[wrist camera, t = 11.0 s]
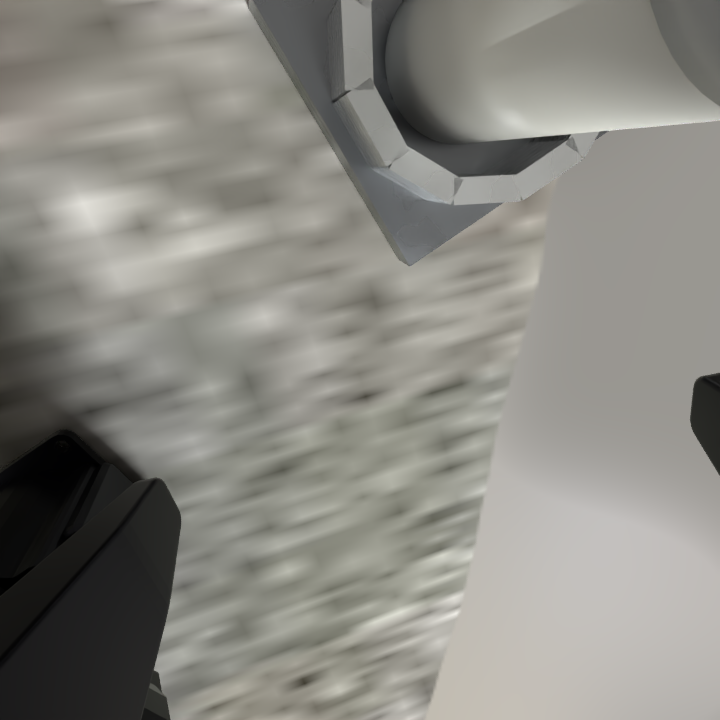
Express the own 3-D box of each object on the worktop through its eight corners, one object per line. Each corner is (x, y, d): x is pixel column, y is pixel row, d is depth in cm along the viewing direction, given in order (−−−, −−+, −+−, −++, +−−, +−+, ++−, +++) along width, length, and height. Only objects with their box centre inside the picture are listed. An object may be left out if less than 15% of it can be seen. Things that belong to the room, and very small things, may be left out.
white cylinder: (382, 148, 17) (680, 117, 6) (381, -40, 16) (828, -702, 4) (526, 146, 18) (1047, 114, 6) (542, -33, 17) (1313, -539, 5)
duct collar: (398, 259, 20) (432, 280, 17) (248, 7, 17) (249, -38, 13) (606, 118, 20) (686, 107, 16) (501, -171, 16) (575, -268, 13)
